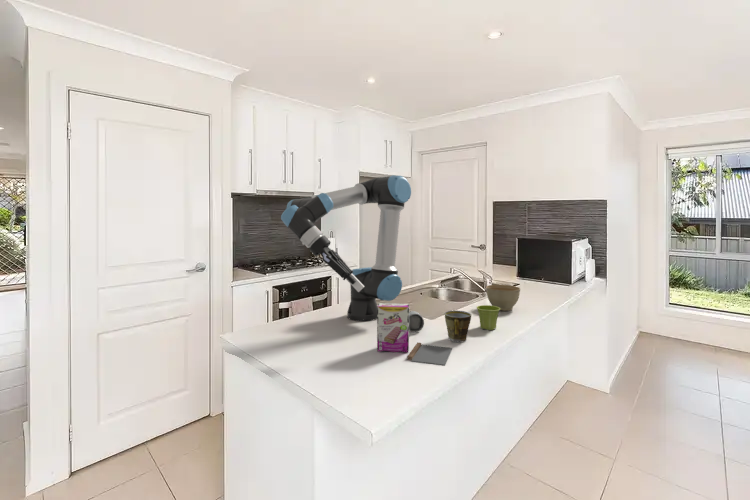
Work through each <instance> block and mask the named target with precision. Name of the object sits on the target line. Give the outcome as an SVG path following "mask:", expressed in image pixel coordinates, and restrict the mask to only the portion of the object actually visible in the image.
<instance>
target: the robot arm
mask: <svg viewBox="0 0 750 500" xmlns="http://www.w3.org/2000/svg"><path fill="white" fill-rule="evenodd" d="M411 196H412V188H411V184H410V182H409V181H408V179H407V178H406V177H404V176H403V175H393V174H392V175H390V176H381V177H380V176H379V177H374V178H371V179H368V180H366V181H362V182H358V183H355V185H354V186H352V187H346V188H342V189H338V190H333V191H329V192H321V193H318V194H316V195H311V196H308V197H302V198H295V199H291V200H290V201H288V202H287V204H286V208H285V210H284V211H283V212H282V214H281V216H280V219H281V221H282V222H283V224H284V225H285V226H286V227H287V228H288V229H289V230H290V231H291V233H293V234H294V235H295V236H296V237H297V238H298V240H299V241H300V242H301V244H302V245H303V246H305V247H306V248H309V251H310V253H312V254H313V255H314V257H317V256H321V257H322V262H324V263H325V264H326V265H328V266H329V267H330V268H331V269H332V270H333V271H334V272H335V273H336V274H338V276H340V277H341V278H342V280H343V281H345V280H346V281H347V282H348V283H349V284H350V302H349V305H348V309H347V312H346V314H347V317H346V318H347V319H349V318H350V319H349V320H351V319H352V320H351V321H356V320H359V321H358V322H366V321H365V320H369V321H373V319H375V320H377V319H376V318H377V306H378V303H377V300H380V301H388V302H390V301H393V300H395V299H396V298H397V297H398V296H399V295H400V293H401V291H402V288H403V282H402V281H403V280H402V279H401V277H400V276H399V275H398V273H399V269H397V267H396V259H397V250H398V249H397V247H398V237H399V226H400V218H401V217H400V215H401V212H402V211H403V210H404V208H405V204H406V203H407V202H409V200H410V198H411ZM356 204H358V205H362V206H363V205H366V204H367V205H368V204H377V207H378V208H379V209H380V215H379V224H378V235H377V243H376V245H377V246H376V253H375V254H376V255H375V264H374V265H373V266H370V267H359V268H358V267H357V268H353V269H351V268H350V267H349V266H348V264H347V263H346V261H344V260H343V258H342V257H341V256H340V255H339V253H338V252H337V251H335V250H334V249H331V248H330V247H329V246H330V245H331V243H332V242H331V240H330V239H329V238H328V237H327V236H326V235H323V234H324V233H323V232H322V230H320V229H319V228H318V226H316V225H315V223H316V222H318V221H319V220H321V219H322V218H323V217H325V216H326V215H328V214H329V212H331V211H332V210H337V209H340V208H345V207H349V206H352V205H356Z"/></svg>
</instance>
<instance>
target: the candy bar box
mask: <svg viewBox="0 0 750 500" xmlns="http://www.w3.org/2000/svg"><path fill="white" fill-rule="evenodd" d="M409 312H410V304H409V303H391V302H388V303H387V302H386V303H385V302H378V303H377V319H376V324H377V325H376V327H377V328H376V329H377V330H376V334H377V335H376V342H377V343H376V346H377V347H376V351H377V352H380V353H381V352H383V353H385V352H386V353H409V349H410V331H409Z"/></svg>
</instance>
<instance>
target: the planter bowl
mask: <svg viewBox="0 0 750 500" xmlns="http://www.w3.org/2000/svg"><path fill="white" fill-rule="evenodd" d="M485 288H486V297H487V299H488V301H489V304H491V305H490V306H497V307H499V308H500V310H499V311H501V312H502V311H503V312H504V311H505V312H507V311H513V309H514V307H515V306H516V304H517V302H518V301H519V298H520V294H521V288H520V287H518V286H514V285H508V284H490V285H489V284H488V285H487V286H486V287H485Z"/></svg>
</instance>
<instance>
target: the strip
mask: <svg viewBox="0 0 750 500" xmlns="http://www.w3.org/2000/svg"><path fill="white" fill-rule="evenodd" d="M421 345H422V342H416V344H415V345H414V347H413V348H412V349H411V351H410V352H408V355H407V361H411V360H412V359H413V357H414V356H415V354H416V353H417V351H418V350H419V348H420V347H421Z"/></svg>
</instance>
